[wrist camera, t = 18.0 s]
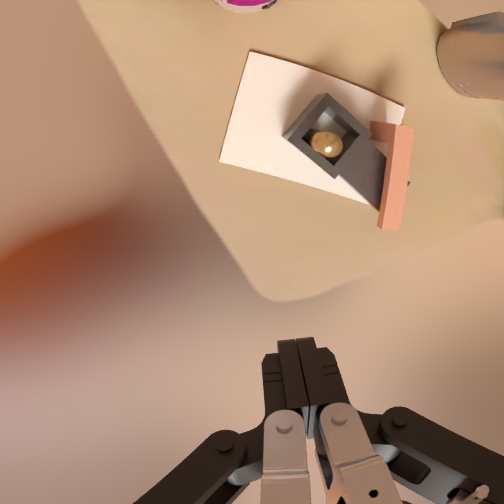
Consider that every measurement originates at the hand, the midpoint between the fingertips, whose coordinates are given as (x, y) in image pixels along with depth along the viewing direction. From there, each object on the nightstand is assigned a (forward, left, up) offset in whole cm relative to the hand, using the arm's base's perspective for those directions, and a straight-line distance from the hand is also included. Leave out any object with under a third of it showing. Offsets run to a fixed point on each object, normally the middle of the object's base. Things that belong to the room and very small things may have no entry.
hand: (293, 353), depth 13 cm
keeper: (-7, +11, -23) cm, 26 cm away
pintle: (-8, +3, -23) cm, 25 cm away
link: (-8, +7, -23) cm, 25 cm away
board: (-9, +3, -23) cm, 25 cm away
